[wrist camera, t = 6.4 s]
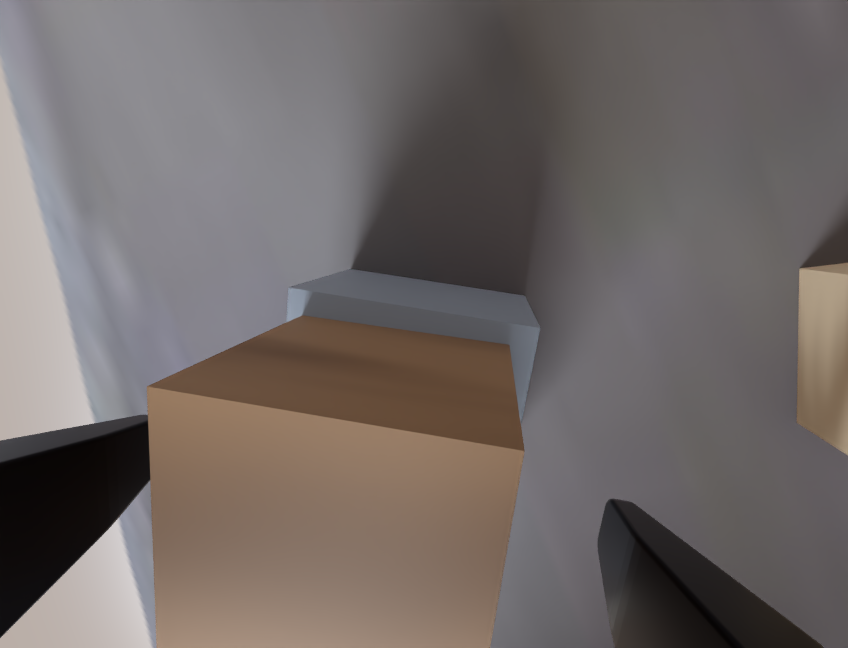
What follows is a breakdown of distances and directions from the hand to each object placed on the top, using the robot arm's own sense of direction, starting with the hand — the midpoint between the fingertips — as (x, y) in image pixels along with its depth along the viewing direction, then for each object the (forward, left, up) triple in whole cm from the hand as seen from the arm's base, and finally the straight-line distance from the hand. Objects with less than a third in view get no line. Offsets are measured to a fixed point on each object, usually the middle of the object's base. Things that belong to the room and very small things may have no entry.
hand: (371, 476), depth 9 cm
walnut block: (0, 0, -2) cm, 2 cm away
